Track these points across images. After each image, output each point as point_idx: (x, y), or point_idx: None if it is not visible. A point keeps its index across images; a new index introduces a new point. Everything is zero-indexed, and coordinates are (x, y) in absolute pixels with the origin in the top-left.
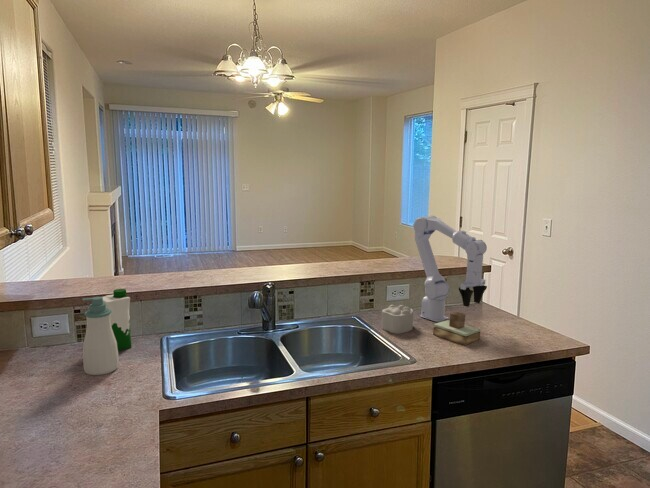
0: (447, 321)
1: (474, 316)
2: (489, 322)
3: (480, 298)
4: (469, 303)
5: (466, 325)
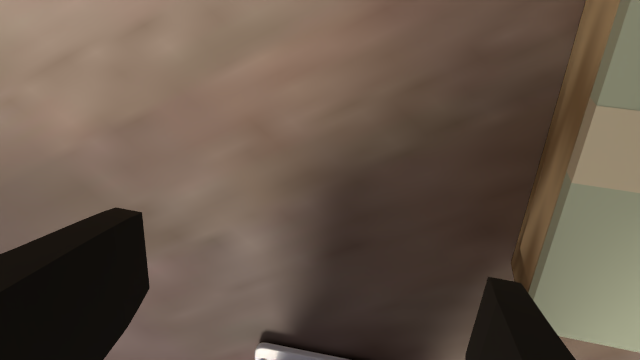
0: (616, 318)
1: (33, 217)
2: (36, 59)
3: (61, 250)
4: (518, 314)
5: (618, 102)
